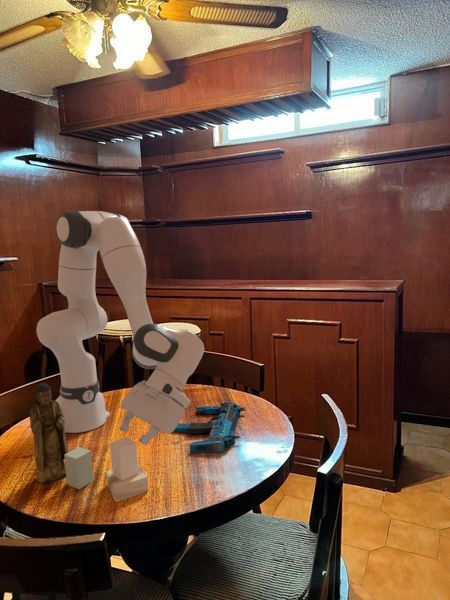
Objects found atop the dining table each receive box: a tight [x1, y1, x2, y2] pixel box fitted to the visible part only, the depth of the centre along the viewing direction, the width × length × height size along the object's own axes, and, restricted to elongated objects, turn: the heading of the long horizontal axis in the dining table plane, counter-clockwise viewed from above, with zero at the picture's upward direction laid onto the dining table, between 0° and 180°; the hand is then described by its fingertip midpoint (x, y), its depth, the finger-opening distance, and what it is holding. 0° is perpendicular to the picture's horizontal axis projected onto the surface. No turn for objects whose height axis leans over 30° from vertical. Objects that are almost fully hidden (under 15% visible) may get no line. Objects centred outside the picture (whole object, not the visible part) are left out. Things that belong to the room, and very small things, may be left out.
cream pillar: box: [109, 436, 139, 481], centre depth 104 cm, size 4×4×8 cm
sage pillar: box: [64, 446, 95, 490], centre depth 108 cm, size 4×4×8 cm
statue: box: [29, 382, 69, 485], centre depth 109 cm, size 9×9×25 cm
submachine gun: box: [172, 398, 247, 453], centre depth 138 cm, size 34×4×25 cm
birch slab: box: [105, 463, 150, 503], centre depth 105 cm, size 8×8×4 cm
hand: (132, 437), depth 105 cm, fingers open, 8 cm apart
